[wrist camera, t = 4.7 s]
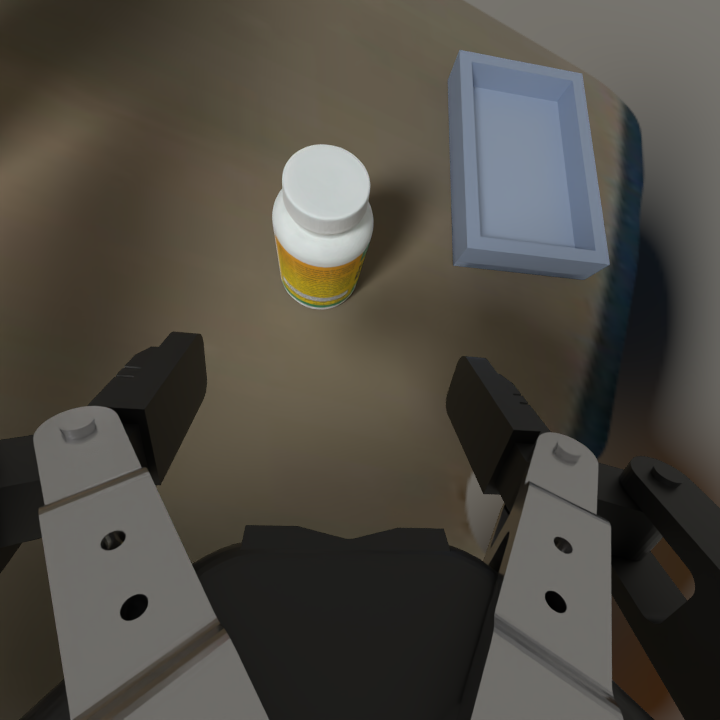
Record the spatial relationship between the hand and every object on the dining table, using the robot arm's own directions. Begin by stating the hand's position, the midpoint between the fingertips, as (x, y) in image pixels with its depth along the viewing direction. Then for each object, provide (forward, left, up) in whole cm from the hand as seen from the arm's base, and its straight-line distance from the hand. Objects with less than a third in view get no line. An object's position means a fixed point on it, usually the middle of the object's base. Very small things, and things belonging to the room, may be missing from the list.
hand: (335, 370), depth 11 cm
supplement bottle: (+8, +5, -12) cm, 16 cm away
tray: (+25, -4, -12) cm, 28 cm away
